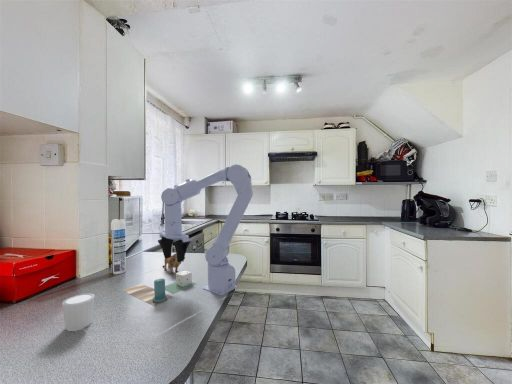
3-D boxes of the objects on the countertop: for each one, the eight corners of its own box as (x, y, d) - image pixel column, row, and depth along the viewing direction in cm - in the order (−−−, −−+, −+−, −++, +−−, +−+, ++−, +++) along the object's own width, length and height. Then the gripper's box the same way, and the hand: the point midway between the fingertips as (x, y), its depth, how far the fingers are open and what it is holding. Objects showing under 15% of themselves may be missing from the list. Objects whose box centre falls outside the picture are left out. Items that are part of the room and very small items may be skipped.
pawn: (170, 296, 77) (169, 278, 77) (162, 303, 73) (161, 283, 73) (158, 295, 78) (157, 277, 78) (149, 301, 74) (148, 282, 74)
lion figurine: (187, 273, 100) (186, 252, 100) (175, 277, 96) (175, 255, 95) (167, 266, 109) (167, 247, 109) (156, 270, 105) (156, 249, 105)
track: (174, 298, 77) (174, 297, 77) (154, 306, 71) (154, 305, 71) (141, 284, 89) (141, 283, 89) (121, 291, 83) (121, 290, 83)
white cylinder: (90, 315, 67) (89, 290, 67) (99, 323, 63) (98, 297, 63) (59, 326, 62) (58, 299, 62) (66, 336, 58) (66, 307, 57)
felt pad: (197, 284, 88) (197, 283, 88) (173, 294, 80) (173, 293, 80) (183, 279, 93) (183, 279, 93) (159, 288, 84) (159, 288, 84)
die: (192, 283, 88) (191, 272, 88) (182, 286, 85) (182, 275, 85) (185, 280, 91) (184, 270, 91) (175, 284, 88) (175, 273, 87)
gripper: (195, 221, 85) (196, 259, 85) (170, 219, 93) (171, 254, 93) (178, 224, 79) (179, 265, 79) (154, 221, 87) (154, 258, 88)
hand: (174, 259), depth 86 cm, fingers open, 7 cm apart
